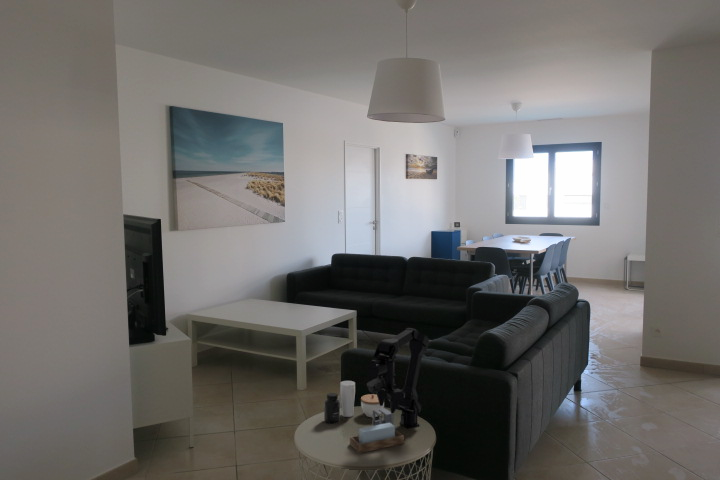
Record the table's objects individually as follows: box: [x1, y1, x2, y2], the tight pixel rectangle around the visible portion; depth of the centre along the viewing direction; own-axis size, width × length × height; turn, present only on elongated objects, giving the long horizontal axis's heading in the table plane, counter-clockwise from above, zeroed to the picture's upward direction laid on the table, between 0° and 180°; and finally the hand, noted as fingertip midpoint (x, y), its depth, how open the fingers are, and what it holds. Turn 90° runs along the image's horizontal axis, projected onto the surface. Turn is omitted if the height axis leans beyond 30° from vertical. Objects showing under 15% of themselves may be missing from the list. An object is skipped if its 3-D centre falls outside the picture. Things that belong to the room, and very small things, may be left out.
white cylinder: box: [339, 380, 356, 418], centre depth 246 cm, size 7×7×15 cm
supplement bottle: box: [323, 392, 341, 424], centre depth 239 cm, size 7×7×12 cm
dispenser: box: [371, 407, 395, 426], centre depth 230 cm, size 6×7×8 cm
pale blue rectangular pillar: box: [358, 423, 396, 444], centre depth 216 cm, size 14×4×6 cm, turn 116°
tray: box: [349, 429, 405, 454], centre depth 216 cm, size 20×8×3 cm, turn 117°
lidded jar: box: [360, 393, 385, 418], centre depth 247 cm, size 11×11×9 cm
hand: (386, 409), depth 221 cm, fingers open, 9 cm apart
